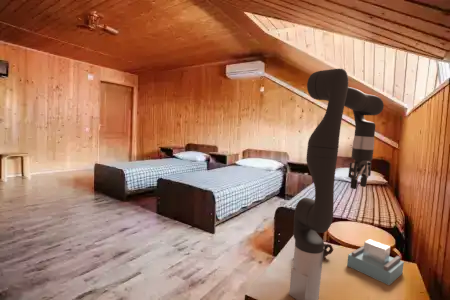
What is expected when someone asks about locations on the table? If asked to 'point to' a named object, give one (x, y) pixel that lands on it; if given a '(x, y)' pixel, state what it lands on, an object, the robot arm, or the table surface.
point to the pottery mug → (326, 250)
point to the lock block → (376, 251)
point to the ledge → (376, 266)
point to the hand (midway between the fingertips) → (358, 187)
